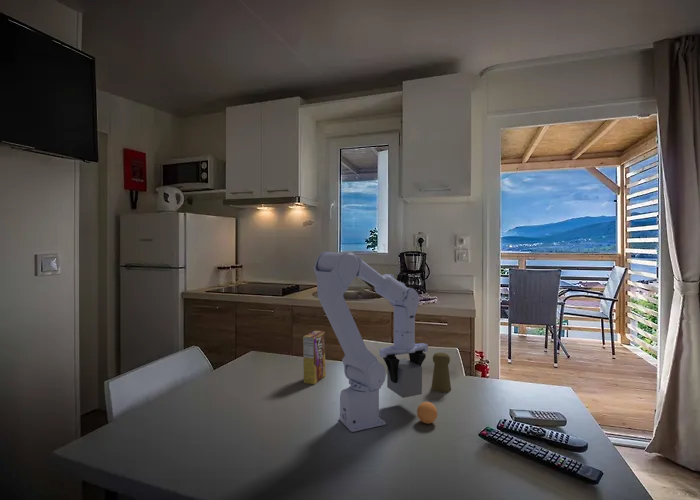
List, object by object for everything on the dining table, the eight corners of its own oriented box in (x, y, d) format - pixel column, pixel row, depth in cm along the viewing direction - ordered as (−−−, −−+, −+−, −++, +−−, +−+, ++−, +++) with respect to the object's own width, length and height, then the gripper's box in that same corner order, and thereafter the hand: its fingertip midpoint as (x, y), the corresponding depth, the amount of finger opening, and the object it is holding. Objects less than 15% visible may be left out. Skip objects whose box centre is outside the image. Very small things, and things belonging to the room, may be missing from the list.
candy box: (314, 374, 131) (314, 330, 131) (325, 376, 129) (326, 331, 129) (302, 383, 122) (302, 335, 122) (314, 384, 121) (314, 337, 121)
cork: (428, 390, 117) (429, 354, 117) (434, 383, 122) (434, 349, 122) (448, 393, 114) (448, 357, 114) (453, 387, 120) (453, 352, 119)
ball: (424, 428, 92) (425, 408, 92) (412, 420, 96) (413, 400, 96) (441, 424, 94) (441, 404, 94) (429, 416, 99) (429, 397, 98)
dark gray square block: (402, 397, 100) (403, 369, 100) (387, 387, 107) (387, 361, 107) (421, 394, 102) (422, 366, 102) (405, 384, 110) (405, 358, 109)
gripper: (389, 336, 98) (388, 389, 98) (434, 331, 104) (434, 380, 104) (375, 330, 104) (375, 380, 104) (419, 326, 110) (419, 372, 111)
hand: (404, 380), depth 105 cm, fingers closed on dark gray square block, 6 cm apart
